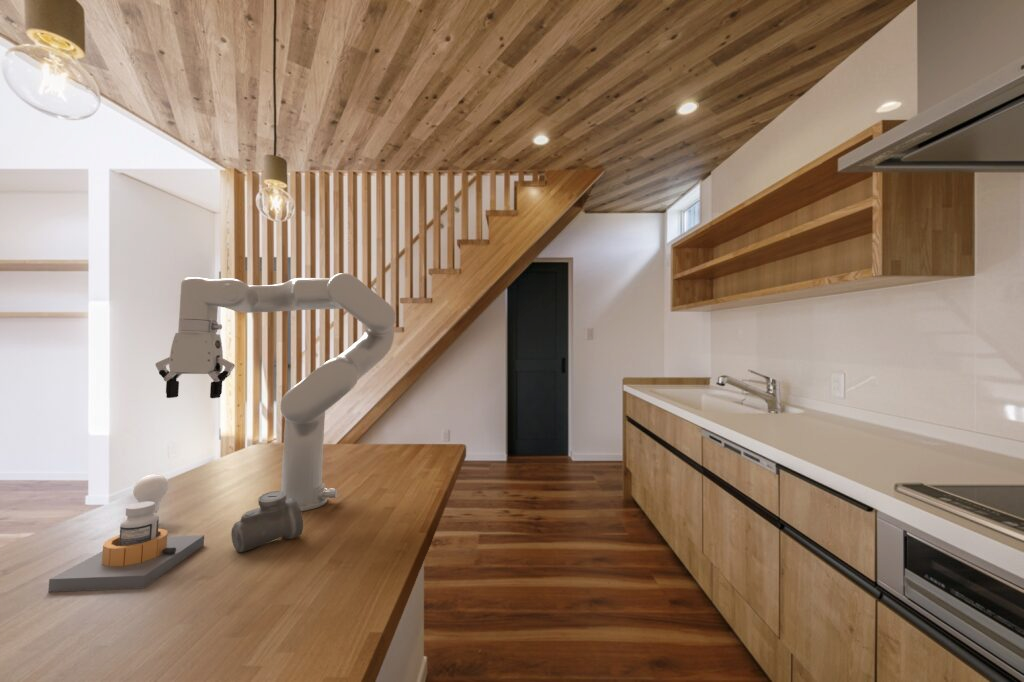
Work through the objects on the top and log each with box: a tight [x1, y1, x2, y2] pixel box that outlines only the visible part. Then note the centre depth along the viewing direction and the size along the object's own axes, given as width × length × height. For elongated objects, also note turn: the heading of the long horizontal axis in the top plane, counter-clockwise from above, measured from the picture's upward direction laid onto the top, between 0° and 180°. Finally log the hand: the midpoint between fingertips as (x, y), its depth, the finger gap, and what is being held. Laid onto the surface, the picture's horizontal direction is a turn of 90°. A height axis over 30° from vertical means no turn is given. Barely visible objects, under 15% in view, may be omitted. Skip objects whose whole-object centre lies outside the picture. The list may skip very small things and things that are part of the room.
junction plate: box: [47, 527, 205, 593], centre depth 76 cm, size 14×16×5 cm
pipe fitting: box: [230, 490, 304, 553], centre depth 86 cm, size 12×8×10 cm
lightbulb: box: [133, 473, 169, 515], centre depth 95 cm, size 6×6×11 cm
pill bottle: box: [119, 501, 160, 546], centre depth 76 cm, size 5×5×9 cm
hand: (193, 397), depth 102 cm, fingers open, 9 cm apart
